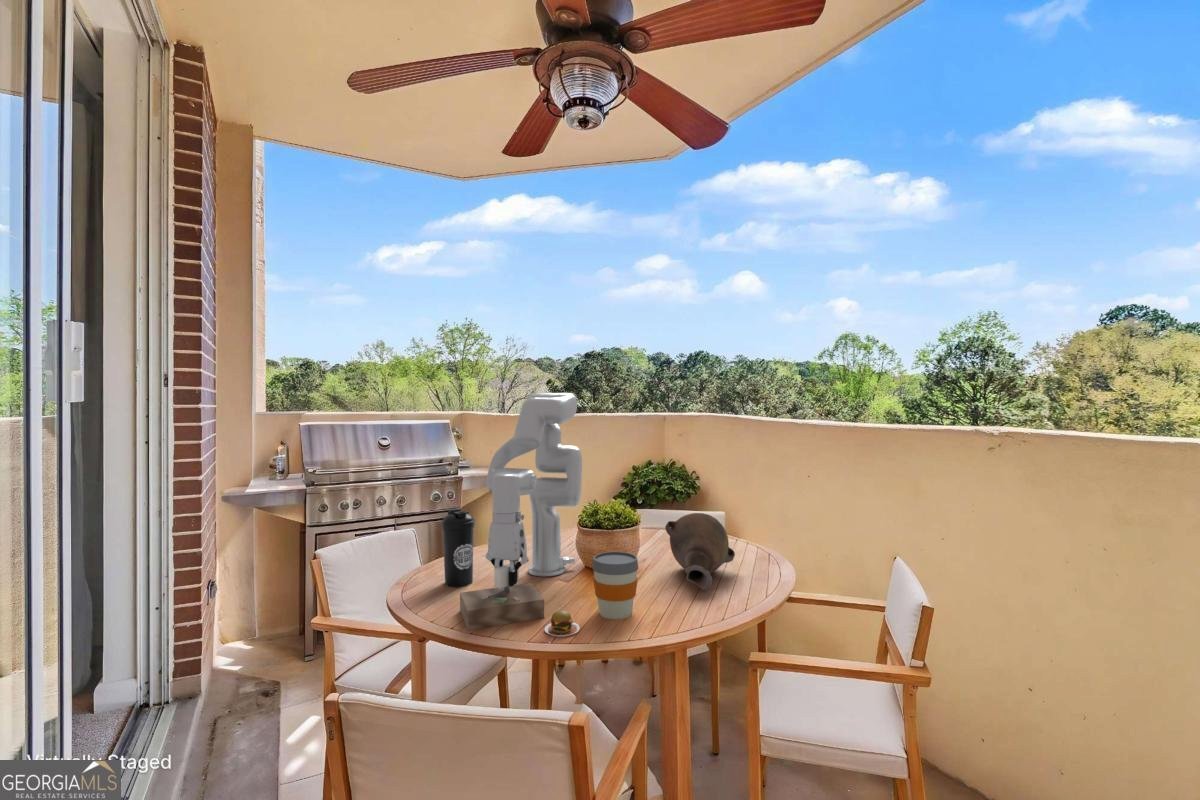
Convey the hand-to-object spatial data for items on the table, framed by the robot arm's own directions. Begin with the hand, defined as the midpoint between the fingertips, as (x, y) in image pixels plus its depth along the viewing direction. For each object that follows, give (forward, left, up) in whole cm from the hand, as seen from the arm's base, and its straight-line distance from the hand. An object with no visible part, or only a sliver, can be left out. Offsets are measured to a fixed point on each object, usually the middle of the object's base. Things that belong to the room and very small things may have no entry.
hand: (507, 583), depth 155 cm
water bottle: (+9, -29, -8) cm, 31 cm away
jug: (-63, -3, -8) cm, 64 cm away
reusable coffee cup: (-27, +13, -8) cm, 31 cm away
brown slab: (+2, +2, -8) cm, 8 cm away
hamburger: (-10, +18, -8) cm, 22 cm away
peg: (+1, +1, -2) cm, 3 cm away
